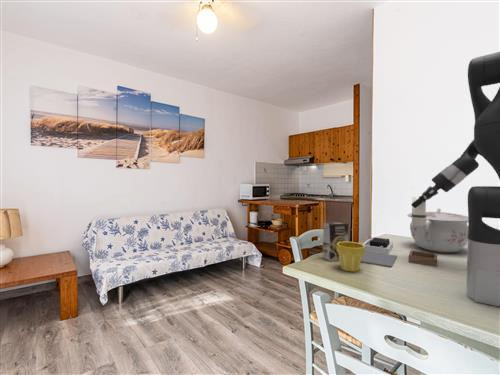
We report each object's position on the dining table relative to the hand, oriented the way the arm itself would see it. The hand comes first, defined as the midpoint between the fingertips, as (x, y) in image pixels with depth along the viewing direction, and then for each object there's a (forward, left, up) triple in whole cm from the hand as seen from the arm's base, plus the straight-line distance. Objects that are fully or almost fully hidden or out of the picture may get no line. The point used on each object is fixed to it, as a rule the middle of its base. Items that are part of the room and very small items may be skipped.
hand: (413, 205), depth 115 cm
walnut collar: (+1, -4, -24) cm, 24 cm away
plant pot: (-27, +19, -24) cm, 41 cm away
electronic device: (+12, +15, -24) cm, 31 cm away
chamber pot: (+29, -9, -24) cm, 39 cm away
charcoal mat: (-7, +14, -24) cm, 29 cm away
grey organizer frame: (+13, +16, -24) cm, 32 cm away
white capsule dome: (0, -2, -8) cm, 8 cm away
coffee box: (-17, +28, -24) cm, 41 cm away
